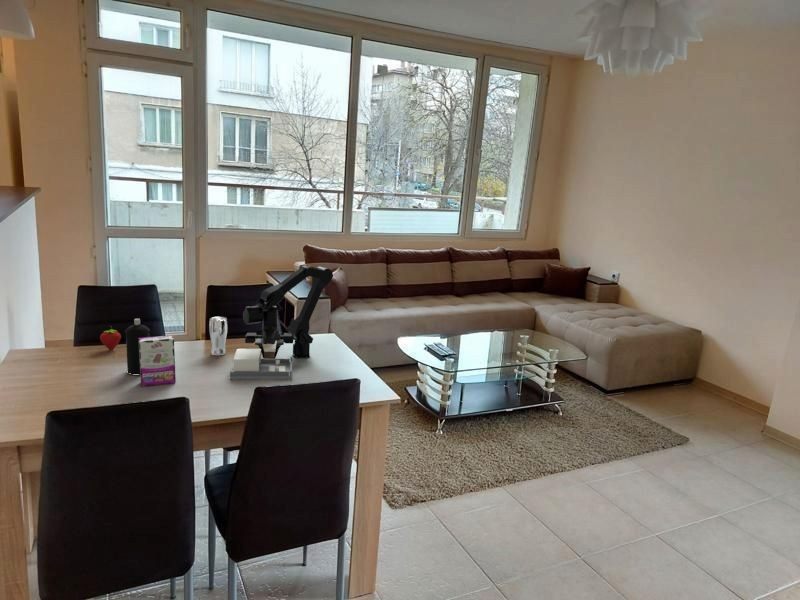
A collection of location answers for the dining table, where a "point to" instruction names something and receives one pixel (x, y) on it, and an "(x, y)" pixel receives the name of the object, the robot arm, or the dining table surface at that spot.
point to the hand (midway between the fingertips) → (269, 358)
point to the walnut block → (269, 354)
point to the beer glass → (218, 335)
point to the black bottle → (135, 345)
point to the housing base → (267, 370)
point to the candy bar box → (157, 360)
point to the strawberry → (110, 338)
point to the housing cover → (247, 360)
